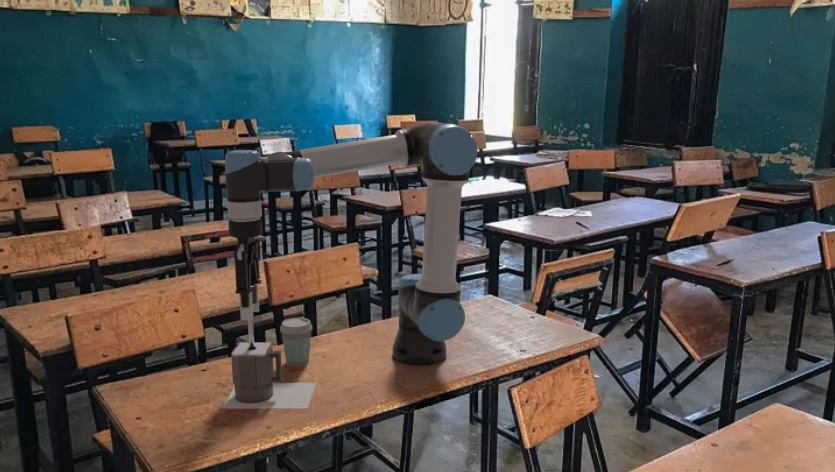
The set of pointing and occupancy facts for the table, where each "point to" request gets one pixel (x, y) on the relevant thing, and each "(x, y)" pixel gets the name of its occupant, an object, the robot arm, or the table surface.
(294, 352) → the coffee cup
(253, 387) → the grey french press
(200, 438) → the table surface
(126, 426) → the table surface
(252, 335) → the plunger
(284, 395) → the mat
